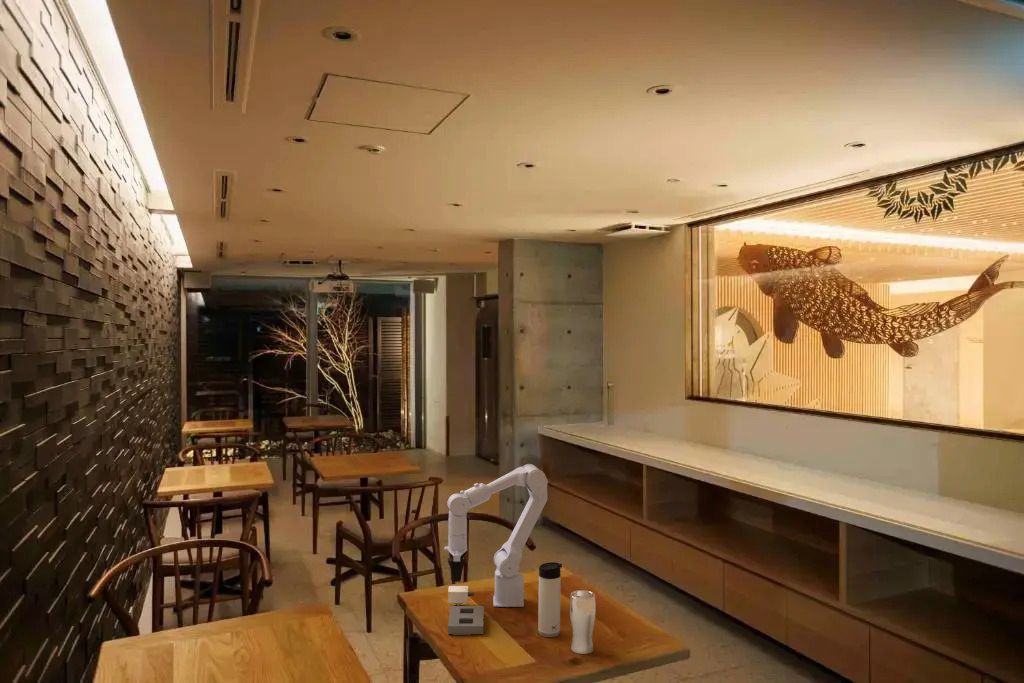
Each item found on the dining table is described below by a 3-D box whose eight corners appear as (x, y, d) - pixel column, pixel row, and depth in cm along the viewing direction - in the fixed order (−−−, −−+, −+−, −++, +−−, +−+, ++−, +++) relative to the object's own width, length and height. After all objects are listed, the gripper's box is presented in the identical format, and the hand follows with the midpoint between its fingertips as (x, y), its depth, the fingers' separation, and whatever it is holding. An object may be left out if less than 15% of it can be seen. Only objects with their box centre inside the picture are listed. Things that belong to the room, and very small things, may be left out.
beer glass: (578, 640, 196) (579, 587, 196) (599, 648, 192) (600, 594, 191) (564, 649, 191) (564, 595, 190) (585, 657, 187) (586, 601, 186)
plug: (474, 603, 222) (474, 585, 222) (473, 609, 217) (474, 591, 217) (448, 603, 222) (449, 585, 221) (448, 609, 217) (448, 591, 217)
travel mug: (559, 638, 197) (560, 568, 197) (536, 636, 199) (537, 566, 198) (562, 629, 204) (563, 561, 203) (540, 627, 205) (540, 559, 204)
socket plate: (483, 614, 213) (483, 606, 213) (483, 634, 200) (483, 626, 199) (450, 614, 213) (450, 606, 213) (447, 635, 199) (447, 626, 199)
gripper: (445, 526, 225) (445, 568, 226) (443, 540, 211) (443, 585, 211) (467, 526, 226) (467, 568, 226) (467, 540, 211) (466, 585, 212)
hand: (457, 576), depth 219 cm, fingers open, 7 cm apart
